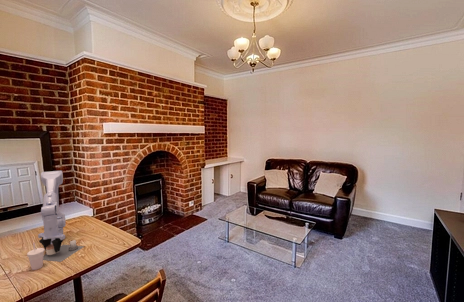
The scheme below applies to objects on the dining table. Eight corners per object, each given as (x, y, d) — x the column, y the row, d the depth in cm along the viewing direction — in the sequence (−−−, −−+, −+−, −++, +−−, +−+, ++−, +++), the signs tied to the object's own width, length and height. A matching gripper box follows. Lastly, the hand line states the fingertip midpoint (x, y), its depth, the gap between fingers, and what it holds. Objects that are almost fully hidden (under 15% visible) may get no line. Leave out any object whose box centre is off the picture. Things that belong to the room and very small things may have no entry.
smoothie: (35, 266, 109) (33, 239, 108) (49, 265, 110) (47, 239, 108) (24, 274, 103) (22, 246, 101) (39, 274, 103) (36, 246, 102)
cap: (43, 254, 115) (43, 248, 114) (53, 249, 120) (52, 243, 119) (52, 255, 114) (52, 248, 113) (61, 249, 119) (61, 243, 119)
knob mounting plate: (37, 262, 113) (36, 251, 112) (63, 246, 127) (62, 237, 127) (61, 264, 111) (60, 253, 110) (84, 248, 125) (84, 238, 125)
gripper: (31, 229, 112) (33, 253, 114) (55, 231, 110) (57, 256, 112) (44, 223, 119) (46, 246, 121) (68, 225, 117) (69, 249, 119)
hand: (52, 251), depth 117 cm, fingers closed on cap, 5 cm apart
